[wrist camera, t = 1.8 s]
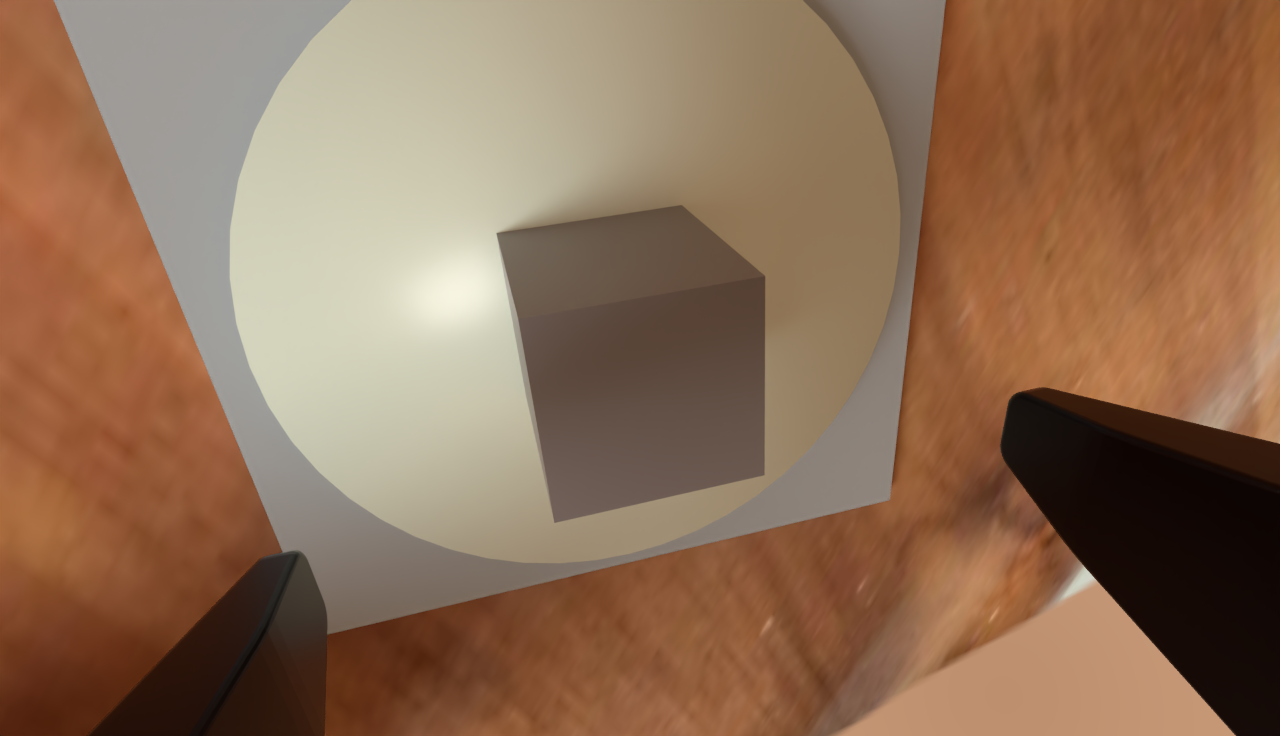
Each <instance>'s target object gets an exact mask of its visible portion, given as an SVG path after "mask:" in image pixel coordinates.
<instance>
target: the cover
mask: <svg viewBox="0 0 1280 736" xmlns="http://www.w3.org/2000/svg"><path fill="white" fill-rule="evenodd" d="M900 217H901V214H900V203H899V192H898V181H897V173H896V169H895V164H894V160H893V155H892V151H891V147H890V142H889V138H888V134H887V132H886V129H885V126H884V124H883V121H882V118H881V116H880V113H879V110H878V107H877V105H876V102H875V99H874V97H873V95H872V93H871V91H870V90H869V88H868V86H867V84H866V82H865V80H864V78H863V77H862V75H861V73H860V71H859V69H858V67H857V66H856V64H855V62H854V60H853V59H852V57H851V56H850V55H849V53H848V52H847V51H846V49H845V48H844V47H843V45H842V44H841V43H840V41H839V40H838V38H837V37H836V36H835V34H834V33H833V32H832V30H831V29H830V28H829V26H828V25H827V24H826V23H825V22H824V21H823V20H822V19H821V18H820V17H819V16H818V15H817V14H816V13H815V12H814V11H813V10H812V9H811V8H810V7H809V6H808V5H807V4H806V3H805V2H804V1H803V0H351V1H350V2H349V3H348V4H347V5H346V6H345V7H344V8H343V9H342V10H341V11H340V12H339V13H338V14H337V15H336V16H335V17H334V18H333V19H332V20H331V21H330V22H329V23H328V24H327V25H326V26H325V27H324V28H323V29H322V30H321V31H320V32H319V33H318V34H317V35H316V36H315V37H314V38H313V39H312V40H311V41H310V42H309V44H308V45H307V46H306V48H305V49H304V50H303V52H302V53H301V54H300V56H299V57H298V59H297V60H296V61H295V63H294V64H293V65H292V67H291V68H290V69H289V71H288V72H287V73H286V75H285V76H284V77H283V79H282V80H281V82H280V83H279V85H278V87H277V89H276V90H275V92H274V94H273V96H272V98H271V100H270V102H269V104H268V106H267V108H266V110H265V112H264V114H263V115H262V117H261V119H260V121H259V123H258V125H257V127H256V129H255V131H254V134H253V137H252V140H251V143H250V146H249V149H248V152H247V155H246V158H245V161H244V164H243V167H242V170H241V173H240V176H239V179H238V184H237V190H236V196H235V202H234V208H233V214H232V220H231V226H230V284H231V291H232V297H233V304H234V311H235V318H236V324H237V328H238V331H239V334H240V337H241V341H242V344H243V347H244V351H245V354H246V357H247V360H248V364H249V367H250V369H251V371H252V373H253V375H254V377H255V379H256V382H257V384H258V386H259V388H260V390H261V392H262V394H263V396H264V398H265V401H266V403H267V405H268V407H269V408H270V410H271V411H272V413H273V414H274V416H275V417H276V419H277V420H278V422H279V423H280V425H281V426H282V428H283V429H284V431H285V432H286V434H287V435H288V437H289V438H290V440H291V441H292V442H293V444H294V445H295V446H296V447H297V448H298V449H299V450H300V451H301V453H302V454H303V455H304V456H305V457H306V458H307V459H308V461H309V462H310V463H311V464H312V465H313V466H314V467H315V468H316V470H317V471H318V472H319V473H320V474H322V475H323V476H324V477H325V478H326V479H327V480H328V481H330V482H331V483H332V484H333V485H334V486H335V487H337V488H338V489H339V490H340V491H341V492H342V493H343V494H345V495H346V496H347V497H348V498H349V499H351V500H352V501H354V502H355V503H357V504H358V505H360V506H361V507H363V508H364V509H366V510H367V511H369V512H370V513H372V514H373V515H375V516H376V517H378V518H379V519H381V520H383V521H385V522H387V523H389V524H391V525H393V526H395V527H397V528H399V529H401V530H403V531H405V532H407V533H409V534H411V535H413V536H415V537H417V538H420V539H423V540H426V541H428V542H431V543H434V544H437V545H439V546H442V547H445V548H448V549H451V550H454V551H459V552H463V553H467V554H471V555H475V556H480V557H484V558H489V559H497V560H505V561H513V562H521V563H570V562H582V561H594V560H600V559H605V558H610V557H616V556H621V555H626V554H631V553H634V552H638V551H641V550H645V549H648V548H652V547H655V546H658V545H662V544H665V543H667V542H670V541H672V540H675V539H677V538H680V537H682V536H685V535H687V534H690V533H692V532H695V531H697V530H699V529H701V528H703V527H705V526H707V525H709V524H710V523H712V522H714V521H716V520H718V519H720V518H722V517H724V516H726V515H728V514H729V513H731V512H732V511H734V510H735V509H737V508H738V507H740V506H742V505H743V504H745V503H746V502H748V501H749V500H751V499H752V498H754V497H755V496H757V495H758V494H759V493H761V492H762V491H763V490H764V489H766V488H767V487H768V486H769V485H771V484H772V483H773V482H774V481H776V480H777V479H778V478H779V477H781V476H782V475H783V474H784V473H785V472H787V471H788V470H789V469H790V468H791V467H792V466H793V465H794V464H795V463H796V462H797V461H798V460H799V459H800V458H801V457H802V456H803V455H804V454H805V453H806V452H807V451H808V450H809V449H810V448H811V447H812V446H813V444H814V443H815V442H816V441H817V440H818V438H819V437H820V436H821V435H822V434H823V432H824V431H825V430H826V429H827V428H828V427H829V425H830V424H831V423H832V422H833V420H834V419H835V417H836V416H837V414H838V413H839V411H840V410H841V409H842V407H843V406H844V404H845V403H846V401H847V400H848V398H849V397H850V395H851V394H852V392H853V390H854V389H855V387H856V385H857V383H858V381H859V379H860V377H861V376H862V374H863V372H864V370H865V368H866V366H867V364H868V363H869V361H870V358H871V356H872V353H873V351H874V348H875V346H876V343H877V341H878V338H879V336H880V333H881V331H882V329H883V326H884V322H885V319H886V315H887V312H888V308H889V304H890V301H891V297H892V294H893V289H894V283H895V277H896V270H897V264H898V258H899V245H900Z"/></svg>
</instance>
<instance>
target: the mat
mask: <svg viewBox="0 0 1280 736" xmlns="http://www.w3.org/2000/svg"><path fill="white" fill-rule="evenodd" d="M350 1H351V0H54V2H55V4H56V7H57V9H58V11H59V14H60V16H61V19H62V21H63V23H64V26H65V28H66V31H67V33H68V36H69V38H70V40H71V43H72V45H73V48H74V50H75V52H76V55H77V57H78V60H79V62H80V64H81V67H82V69H83V72H84V74H85V77H86V79H87V81H88V84H89V86H90V89H91V91H92V93H93V96H94V98H95V101H96V103H97V105H98V108H99V110H100V113H101V115H102V118H103V120H104V122H105V125H106V127H107V130H108V132H109V134H110V137H111V139H112V142H113V144H114V146H115V149H116V151H117V154H118V156H119V159H120V161H121V163H122V166H123V168H124V171H125V173H126V175H127V178H128V180H129V183H130V185H131V187H132V190H133V192H134V195H135V197H136V200H137V202H138V204H139V207H140V209H141V212H142V214H143V216H144V219H145V221H146V224H147V226H148V228H149V231H150V233H151V236H152V238H153V241H154V243H155V245H156V248H157V250H158V253H159V255H160V257H161V260H162V262H163V265H164V267H165V269H166V272H167V274H168V277H169V279H170V282H171V284H172V286H173V289H174V291H175V294H176V296H177V298H178V301H179V303H180V306H181V308H182V310H183V313H184V315H185V318H186V320H187V323H188V325H189V327H190V330H191V332H192V335H193V337H194V339H195V342H196V344H197V347H198V349H199V351H200V354H201V356H202V359H203V361H204V364H205V366H206V368H207V371H208V373H209V376H210V378H211V380H212V383H213V385H214V388H215V390H216V392H217V395H218V397H219V400H220V402H221V405H222V407H223V409H224V412H225V414H226V417H227V419H228V421H229V424H230V426H231V429H232V431H233V433H234V436H235V438H236V441H237V443H238V446H239V448H240V450H241V453H242V455H243V458H244V460H245V462H246V465H247V467H248V470H249V472H250V474H251V477H252V479H253V482H254V484H255V487H256V489H257V491H258V494H259V496H260V499H261V501H262V503H263V506H264V508H265V511H266V513H267V516H268V518H269V520H270V523H271V525H272V528H273V530H274V532H275V535H276V537H277V540H278V542H279V544H280V547H281V549H282V552H288V551H292V550H299V551H301V552H303V553H304V555H305V556H306V557H307V559H308V562H309V564H310V567H311V569H312V572H313V574H314V577H315V579H316V582H317V585H318V587H319V590H320V592H321V595H322V597H323V600H324V603H325V606H326V611H327V621H328V629H327V635H328V634H332V633H336V632H340V631H345V630H349V629H353V628H357V627H361V626H366V625H370V624H374V623H378V622H382V621H386V620H391V619H395V618H399V617H403V616H407V615H412V614H416V613H420V612H424V611H428V610H432V609H437V608H441V607H445V606H449V605H453V604H458V603H462V602H466V601H470V600H474V599H478V598H483V597H487V596H491V595H495V594H499V593H504V592H508V591H512V590H516V589H520V588H524V587H529V586H533V585H537V584H541V583H545V582H550V581H554V580H558V579H562V578H566V577H570V576H575V575H579V574H583V573H587V572H591V571H596V570H600V569H604V568H608V567H612V566H616V565H621V564H625V563H629V562H633V561H637V560H642V559H646V558H650V557H654V556H658V555H662V554H667V553H671V552H675V551H679V550H683V549H688V548H692V547H696V546H700V545H704V544H708V543H713V542H717V541H721V540H725V539H729V538H734V537H738V536H742V535H746V534H750V533H754V532H759V531H763V530H767V529H771V528H775V527H780V526H784V525H788V524H792V523H796V522H800V521H805V520H809V519H813V518H817V517H821V516H826V515H830V514H834V513H838V512H842V511H846V510H851V509H855V508H859V507H863V506H867V505H871V504H876V503H880V502H884V501H888V500H890V494H891V485H892V476H893V467H894V458H895V449H896V440H897V431H898V422H899V413H900V405H901V396H902V387H903V378H904V369H905V360H906V351H907V342H908V333H909V324H910V315H911V306H912V297H913V289H914V280H915V271H916V262H917V253H918V244H919V235H920V226H921V217H922V208H923V199H924V190H925V181H926V172H927V164H928V155H929V146H930V137H931V128H932V119H933V110H934V101H935V92H936V83H937V74H938V65H939V56H940V47H941V39H942V30H943V21H944V12H945V3H946V0H803V1H804V2H805V3H806V4H807V5H808V6H809V7H810V8H811V9H812V10H813V11H814V12H815V13H816V14H817V15H818V16H819V17H820V18H821V19H822V20H823V21H824V22H825V23H826V24H827V25H828V26H829V28H830V29H831V30H832V32H833V33H834V34H835V36H836V37H837V38H838V40H839V41H840V43H841V44H842V45H843V47H844V48H845V49H846V51H847V52H848V53H849V55H850V56H851V57H852V59H853V60H854V62H855V64H856V66H857V67H858V69H859V71H860V73H861V75H862V77H863V78H864V80H865V82H866V84H867V86H868V88H869V90H870V91H871V93H872V95H873V97H874V99H875V102H876V105H877V107H878V110H879V113H880V116H881V118H882V121H883V124H884V126H885V129H886V132H887V134H888V138H889V142H890V147H891V151H892V155H893V160H894V164H895V169H896V173H897V181H898V192H899V203H900V214H901V217H900V245H899V258H898V264H897V270H896V277H895V283H894V289H893V294H892V297H891V301H890V304H889V308H888V312H887V315H886V319H885V322H884V326H883V329H882V331H881V333H880V336H879V338H878V341H877V343H876V346H875V348H874V351H873V353H872V356H871V358H870V361H869V363H868V364H867V366H866V368H865V370H864V372H863V374H862V376H861V377H860V379H859V381H858V383H857V385H856V387H855V389H854V390H853V392H852V394H851V395H850V397H849V398H848V400H847V401H846V403H845V404H844V406H843V407H842V409H841V410H840V411H839V413H838V414H837V416H836V417H835V419H834V420H833V422H832V423H831V424H830V425H829V427H828V428H827V429H826V430H825V431H824V432H823V434H822V435H821V436H820V437H819V438H818V440H817V441H816V442H815V443H814V444H813V446H812V447H811V448H810V449H809V450H808V451H807V452H806V453H805V454H804V455H803V456H802V457H801V458H800V459H799V460H798V461H797V462H796V463H795V464H794V465H793V466H792V467H791V468H790V469H789V470H788V471H787V472H785V473H784V474H783V475H782V476H781V477H779V478H778V479H777V480H776V481H774V482H773V483H772V484H771V485H769V486H768V487H767V488H766V489H764V490H763V491H762V492H761V493H759V494H758V495H757V496H755V497H754V498H752V499H751V500H749V501H748V502H746V503H745V504H743V505H742V506H740V507H738V508H737V509H735V510H734V511H732V512H731V513H729V514H728V515H726V516H724V517H722V518H720V519H718V520H716V521H714V522H712V523H710V524H709V525H707V526H705V527H703V528H701V529H699V530H697V531H695V532H692V533H690V534H687V535H685V536H682V537H680V538H677V539H675V540H672V541H670V542H667V543H665V544H662V545H658V546H655V547H652V548H648V549H645V550H641V551H638V552H634V553H631V554H626V555H621V556H616V557H610V558H605V559H600V560H594V561H582V562H570V563H521V562H513V561H505V560H497V559H489V558H484V557H480V556H475V555H471V554H467V553H463V552H459V551H454V550H451V549H448V548H445V547H442V546H439V545H437V544H434V543H431V542H428V541H426V540H423V539H420V538H417V537H415V536H413V535H411V534H409V533H407V532H405V531H403V530H401V529H399V528H397V527H395V526H393V525H391V524H389V523H387V522H385V521H383V520H381V519H379V518H378V517H376V516H375V515H373V514H372V513H370V512H369V511H367V510H366V509H364V508H363V507H361V506H360V505H358V504H357V503H355V502H354V501H352V500H351V499H349V498H348V497H347V496H346V495H345V494H343V493H342V492H341V491H340V490H339V489H338V488H337V487H335V486H334V485H333V484H332V483H331V482H330V481H328V480H327V479H326V478H325V477H324V476H323V475H322V474H320V473H319V472H318V471H317V470H316V468H315V467H314V466H313V465H312V464H311V463H310V462H309V461H308V459H307V458H306V457H305V456H304V455H303V454H302V453H301V451H300V450H299V449H298V448H297V447H296V446H295V445H294V444H293V442H292V441H291V440H290V438H289V437H288V435H287V434H286V432H285V431H284V429H283V428H282V426H281V425H280V423H279V422H278V420H277V419H276V417H275V416H274V414H273V413H272V411H271V410H270V408H269V407H268V405H267V403H266V401H265V398H264V396H263V394H262V392H261V390H260V388H259V386H258V384H257V382H256V379H255V377H254V375H253V373H252V371H251V369H250V367H249V364H248V360H247V357H246V354H245V351H244V347H243V344H242V341H241V337H240V334H239V331H238V328H237V324H236V318H235V311H234V304H233V297H232V291H231V284H230V226H231V220H232V214H233V208H234V202H235V196H236V190H237V184H238V179H239V176H240V173H241V170H242V167H243V164H244V161H245V158H246V155H247V152H248V149H249V146H250V143H251V140H252V137H253V134H254V131H255V129H256V127H257V125H258V123H259V121H260V119H261V117H262V115H263V114H264V112H265V110H266V108H267V106H268V104H269V102H270V100H271V98H272V96H273V94H274V92H275V90H276V89H277V87H278V85H279V83H280V82H281V80H282V79H283V77H284V76H285V75H286V73H287V72H288V71H289V69H290V68H291V67H292V65H293V64H294V63H295V61H296V60H297V59H298V57H299V56H300V54H301V53H302V52H303V50H304V49H305V48H306V46H307V45H308V44H309V42H310V41H311V40H312V39H313V38H314V37H315V36H316V35H317V34H318V33H319V32H320V31H321V30H322V29H323V28H324V27H325V26H326V25H327V24H328V23H329V22H330V21H331V20H332V19H333V18H334V17H335V16H336V15H337V14H338V13H339V12H340V11H341V10H342V9H343V8H344V7H345V6H346V5H347V4H348V3H349V2H350Z"/></svg>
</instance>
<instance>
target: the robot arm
mask: <svg viewBox="0 0 1280 736" xmlns="http://www.w3.org/2000/svg"><path fill="white" fill-rule="evenodd" d="M1000 447H1001V453H1002V457H1003V459H1004V461H1005V463H1006V464H1007V466H1008V467H1009V468H1010V470H1011V471H1012V472H1013V474H1014V475H1015V476H1016V478H1017V479H1018V480H1019V482H1020V483H1021V484H1022V486H1023V487H1024V488H1025V490H1026V491H1027V493H1028V494H1029V495H1030V497H1031V498H1032V499H1033V501H1034V502H1035V503H1036V505H1037V506H1038V507H1039V509H1040V510H1041V511H1042V513H1043V514H1044V516H1045V517H1046V518H1047V520H1048V521H1049V522H1050V524H1051V525H1052V526H1053V528H1054V529H1055V530H1056V532H1057V533H1058V534H1059V536H1060V537H1061V538H1062V540H1063V541H1064V542H1065V544H1066V545H1067V546H1068V547H1069V549H1070V550H1071V551H1072V553H1073V554H1074V555H1075V556H1076V557H1077V558H1078V560H1079V561H1080V562H1081V563H1082V564H1083V565H1084V567H1085V568H1086V569H1087V570H1088V571H1089V572H1090V573H1091V574H1092V576H1093V577H1094V578H1095V579H1096V580H1097V581H1098V582H1099V583H1100V585H1101V586H1102V587H1103V588H1104V589H1105V590H1106V591H1107V592H1108V593H1109V595H1110V596H1111V597H1112V598H1113V599H1114V600H1115V601H1116V602H1117V604H1119V606H1120V607H1121V608H1122V609H1123V610H1124V611H1125V612H1126V613H1127V615H1128V616H1129V617H1130V618H1131V619H1132V620H1133V621H1134V622H1135V624H1136V625H1137V626H1138V627H1139V628H1140V629H1141V630H1142V631H1143V632H1144V634H1145V635H1146V636H1147V637H1148V638H1149V639H1150V640H1151V641H1152V643H1153V644H1154V645H1155V646H1156V647H1157V648H1158V649H1159V650H1160V652H1161V653H1162V654H1163V655H1164V656H1165V657H1166V658H1167V659H1168V660H1169V662H1170V663H1171V664H1172V665H1173V666H1174V667H1175V668H1176V669H1177V671H1179V673H1180V674H1181V675H1182V676H1183V677H1184V678H1185V679H1186V681H1187V682H1188V683H1189V684H1190V685H1191V686H1192V687H1193V688H1194V690H1195V691H1196V692H1197V693H1198V694H1199V695H1200V696H1201V697H1202V699H1203V700H1204V701H1205V702H1206V703H1207V704H1208V705H1209V706H1210V707H1211V709H1213V711H1214V712H1215V713H1216V714H1217V715H1218V716H1219V717H1220V719H1221V720H1222V721H1223V722H1224V723H1225V724H1226V725H1227V726H1228V728H1229V729H1230V730H1231V731H1232V732H1233V733H1234V734H1235V735H1236V736H1280V444H1278V443H1274V442H1270V441H1266V440H1262V439H1258V438H1254V437H1249V436H1245V435H1241V434H1237V433H1233V432H1229V431H1225V430H1220V429H1216V428H1212V427H1208V426H1204V425H1200V424H1196V423H1191V422H1187V421H1183V420H1179V419H1175V418H1171V417H1166V416H1162V415H1158V414H1154V413H1150V412H1146V411H1142V410H1137V409H1133V408H1129V407H1125V406H1121V405H1117V404H1113V403H1108V402H1104V401H1100V400H1096V399H1092V398H1088V397H1084V396H1079V395H1075V394H1071V393H1067V392H1063V391H1059V390H1055V389H1050V388H1045V387H1042V388H1035V389H1030V390H1026V391H1021V392H1018V393H1016V394H1014V395H1013V396H1012V397H1011V399H1010V400H1009V403H1008V407H1007V412H1006V417H1005V422H1004V427H1003V432H1002V438H1001V444H1000ZM327 629H328V621H327V611H326V606H325V603H324V600H323V597H322V595H321V592H320V590H319V587H318V585H317V582H316V579H315V577H314V574H313V572H312V569H311V567H310V564H309V562H308V559H307V557H306V556H305V555H304V553H303V552H301V551H299V550H292V551H288V552H283V553H278V554H274V555H269V556H265V557H263V558H261V559H259V560H258V561H257V562H256V563H255V564H254V565H253V566H252V567H251V568H250V569H249V570H248V571H247V572H246V573H245V574H244V575H243V576H242V577H241V578H240V579H239V580H238V581H237V582H236V583H235V584H234V585H233V586H232V587H231V589H230V590H229V591H228V592H227V593H226V594H225V595H224V596H223V597H222V598H221V599H220V600H219V601H218V602H217V603H216V604H215V605H214V606H213V607H212V608H211V609H210V610H209V611H208V612H207V613H206V614H205V615H204V616H203V617H202V618H201V619H200V620H199V621H198V622H197V623H196V624H195V625H194V626H193V627H192V628H191V629H190V630H189V631H188V633H187V634H186V635H185V636H184V637H183V638H182V639H181V640H180V641H179V642H178V643H177V644H176V645H175V646H174V647H173V648H172V649H171V650H170V651H169V652H168V653H167V654H166V655H165V656H164V657H163V658H162V659H161V660H160V661H159V662H158V663H157V664H156V665H155V666H154V667H153V668H152V669H151V670H150V671H149V672H148V673H147V674H146V675H145V676H144V678H143V679H142V680H141V681H140V682H139V683H138V684H137V685H136V686H135V687H134V688H133V689H132V690H131V691H130V692H129V693H128V694H127V695H126V696H125V697H124V698H123V699H122V700H121V701H120V702H119V703H118V704H117V705H116V706H115V707H114V708H113V709H112V710H111V711H110V712H109V713H108V714H107V715H106V716H105V717H104V718H103V719H102V720H101V722H100V723H99V724H98V725H97V726H96V727H95V728H94V729H93V730H92V731H91V732H90V733H89V734H88V735H87V736H324V734H325V700H326V664H327Z"/></svg>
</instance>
